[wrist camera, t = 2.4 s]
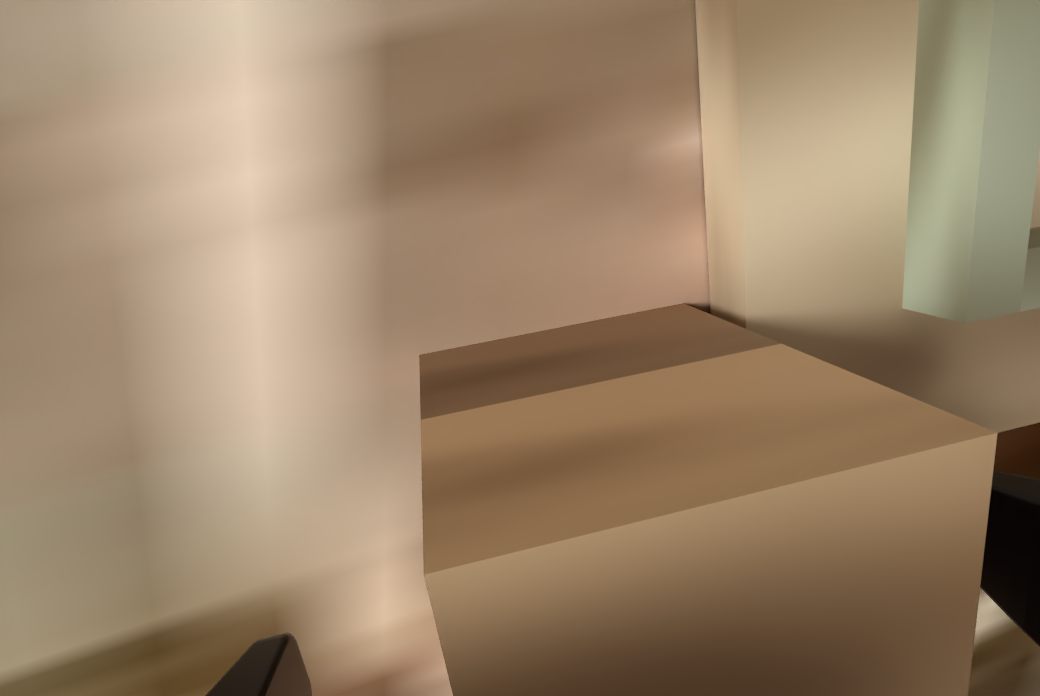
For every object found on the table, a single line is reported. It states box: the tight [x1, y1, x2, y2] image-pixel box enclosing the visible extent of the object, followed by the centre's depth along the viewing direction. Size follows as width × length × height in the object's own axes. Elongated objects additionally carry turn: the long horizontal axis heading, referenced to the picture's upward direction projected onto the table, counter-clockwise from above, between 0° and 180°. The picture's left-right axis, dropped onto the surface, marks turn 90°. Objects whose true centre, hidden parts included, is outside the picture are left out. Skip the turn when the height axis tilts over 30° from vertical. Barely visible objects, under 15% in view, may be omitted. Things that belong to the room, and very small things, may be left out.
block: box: [420, 303, 998, 696], centre depth 8 cm, size 5×5×6 cm
